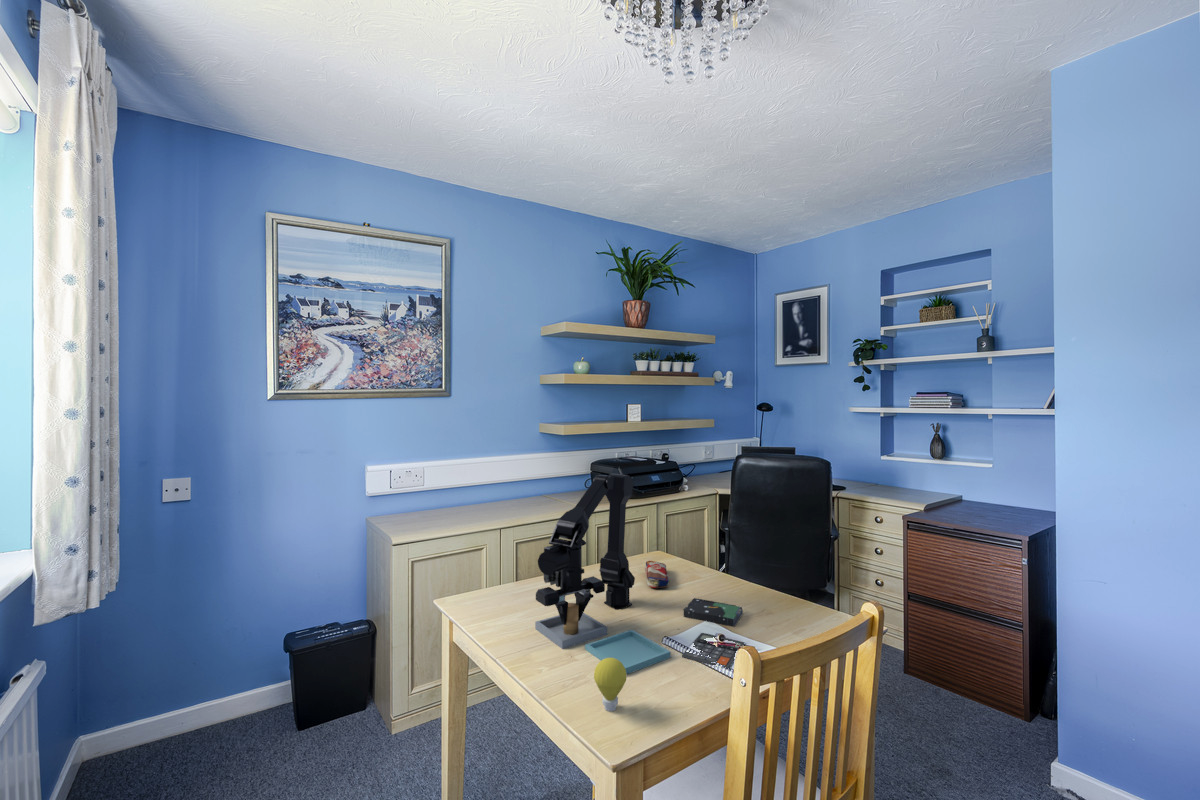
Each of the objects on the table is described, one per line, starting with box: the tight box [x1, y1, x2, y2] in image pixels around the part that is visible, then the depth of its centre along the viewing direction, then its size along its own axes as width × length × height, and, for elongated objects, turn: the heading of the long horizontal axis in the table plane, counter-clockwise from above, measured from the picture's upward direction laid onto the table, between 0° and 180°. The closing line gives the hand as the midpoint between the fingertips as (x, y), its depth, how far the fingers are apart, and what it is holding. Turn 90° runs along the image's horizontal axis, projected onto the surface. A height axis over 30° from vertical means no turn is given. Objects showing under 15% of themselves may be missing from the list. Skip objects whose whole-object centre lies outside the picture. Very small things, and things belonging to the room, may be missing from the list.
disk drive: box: [683, 597, 743, 628], centre depth 157 cm, size 10×3×15 cm
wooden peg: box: [564, 602, 578, 635], centre depth 146 cm, size 4×4×7 cm
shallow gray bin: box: [535, 612, 608, 650], centre depth 146 cm, size 14×14×2 cm
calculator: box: [681, 632, 746, 670], centre depth 136 cm, size 12×1×15 cm
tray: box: [584, 629, 672, 675], centre depth 134 cm, size 15×15×2 cm
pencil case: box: [644, 560, 670, 589], centre depth 186 cm, size 11×20×5 cm, turn 163°
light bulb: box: [593, 658, 628, 712], centre depth 111 cm, size 7×7×10 cm
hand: (571, 622), depth 146 cm, fingers closed on wooden peg, 4 cm apart
